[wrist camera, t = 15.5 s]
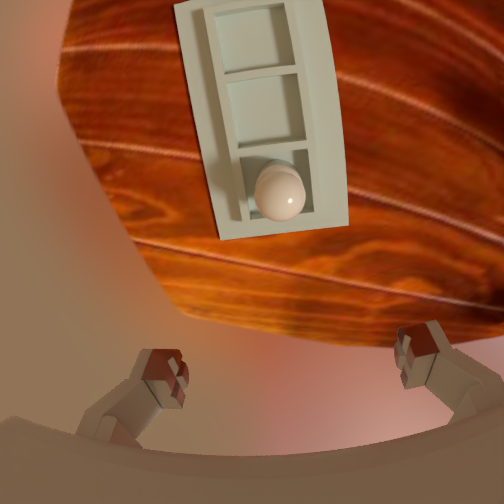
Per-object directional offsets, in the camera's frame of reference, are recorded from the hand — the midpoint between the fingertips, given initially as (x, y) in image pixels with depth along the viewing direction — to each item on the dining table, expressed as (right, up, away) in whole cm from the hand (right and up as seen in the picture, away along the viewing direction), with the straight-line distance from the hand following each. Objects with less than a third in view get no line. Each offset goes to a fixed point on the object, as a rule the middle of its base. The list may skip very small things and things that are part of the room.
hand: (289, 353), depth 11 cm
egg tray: (0, +17, +17) cm, 24 cm away
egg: (+1, +11, +20) cm, 23 cm away
